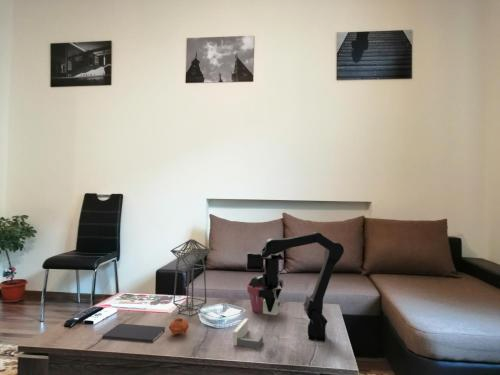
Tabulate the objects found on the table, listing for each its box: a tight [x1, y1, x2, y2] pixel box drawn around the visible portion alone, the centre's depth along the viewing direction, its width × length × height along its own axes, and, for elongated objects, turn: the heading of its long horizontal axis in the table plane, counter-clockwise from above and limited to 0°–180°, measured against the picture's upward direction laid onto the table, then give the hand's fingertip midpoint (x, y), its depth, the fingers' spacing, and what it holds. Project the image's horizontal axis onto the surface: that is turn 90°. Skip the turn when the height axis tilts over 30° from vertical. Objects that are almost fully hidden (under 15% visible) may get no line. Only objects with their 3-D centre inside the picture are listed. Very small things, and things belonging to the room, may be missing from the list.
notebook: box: [101, 323, 166, 343], centre depth 139 cm, size 13×2×21 cm
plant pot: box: [246, 281, 266, 314], centre depth 169 cm, size 14×14×13 cm
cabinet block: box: [262, 297, 281, 316], centre depth 136 cm, size 6×5×5 cm
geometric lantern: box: [170, 238, 213, 317], centre depth 166 cm, size 16×16×35 cm
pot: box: [168, 317, 190, 337], centre depth 139 cm, size 8×8×7 cm
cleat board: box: [232, 317, 264, 350], centre depth 135 cm, size 10×14×5 cm
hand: (271, 309), depth 136 cm, fingers closed on cabinet block, 5 cm apart
